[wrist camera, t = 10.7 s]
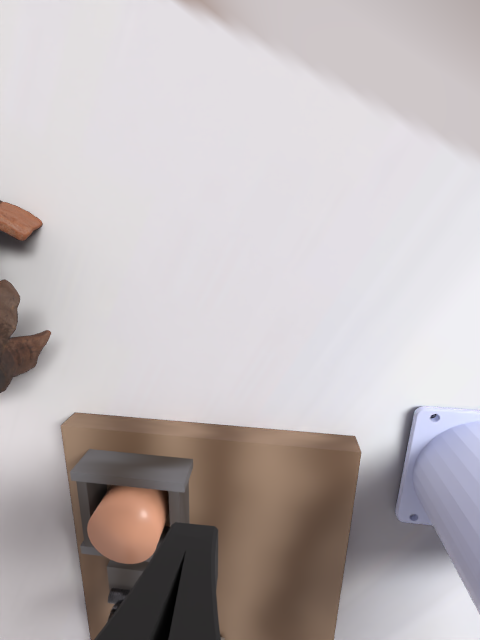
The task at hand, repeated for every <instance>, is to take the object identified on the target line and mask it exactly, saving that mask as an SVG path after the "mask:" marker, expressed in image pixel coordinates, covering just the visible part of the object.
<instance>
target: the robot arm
mask: <svg viewBox="0 0 480 640" xmlns="http://www.w3.org/2000/svg"><path fill="white" fill-rule="evenodd" d="M433 414H437V415H436V417H434V418H430V417H431V415H433ZM395 514H396V516H397V518H398V520H399V521H401V522H405V523H414V524H424V525H433V527H434V529H435V531H436V533H437V534H438V536H439V538H440V540H441V542H442V544H443V546H444V548H445V550H446V551H447V553H448V555H449V557H450V559H451V561H452V563H453V565H454V567H455V569H456V570H457V572H458V574H459V576H460V578H461V580H462V582H463V584H464V586H465V587H466V589H467V591H468V593H469V595H470V597H471V599H472V601H473V603H474V605H475V606H476V608H477V610H478V612H479V614H480V410H468V409H454V408H441V407H428V406H422V407H419V408H417V409H416V410H415V412H414V416H413V421H412V426H411V431H410V437H409V442H408V447H407V452H406V457H405V463H404V468H403V473H402V478H401V484H400V489H399V494H398V499H397V504H396V510H395ZM412 514H415V515H412ZM410 515H412V516H410ZM217 579H218V529H217V528H216V527H215V526H209V525H199V524H189V523H179V522H175V523H173V524H172V525H171V527H170V529H169V531H168V532H167V534H166V536H165V538H164V539H163V541H162V543H161V544H160V546H159V548H158V549H157V551H156V553H155V554H154V556H153V557H152V559H151V560H150V562H149V564H148V565H147V567H146V568H145V570H144V571H143V573H142V574H141V576H140V577H139V579H138V580H137V581H136V583H135V584H134V586H133V587H132V589H131V590H130V592H129V593H128V595H127V596H126V598H125V599H124V600H123V602H122V603H121V604H120V606H119V607H118V608H117V610H116V611H115V612H114V614H113V615H112V617H111V618H110V619H109V621H108V622H107V623H106V625H105V626H104V627H103V629H102V630H101V631H100V633H99V634H98V635H97V636H96V638H95V639H94V640H221V638H220V629H219V620H218V609H217V596H216V589H217Z"/></svg>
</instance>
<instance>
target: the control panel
mask: <svg viewBox="0 0 480 640" xmlns="http://www.w3.org/2000/svg"><path fill="white" fill-rule="evenodd" d="M61 432H62V439H63V446H64V453H65V460H66V467H67V474H68V481H69V488H70V496H71V503H72V510H73V517H74V524H75V531H76V538H77V545H78V552H79V559H80V566H81V574H82V581H83V588H84V595H85V602H86V609H87V616H88V623H89V630H90V637H91V640H94V639H95V638H96V636H97V635H98V634H99V633H100V631H101V630H102V629H103V627H104V626H105V625H106V623H107V620H108V617H109V615H110V612H111V609H112V607H113V606H114V604H110V603H108V596H109V593H110V590H111V589H112V588H120V589H128V590H131V589H132V587H133V586H134V584H135V583H136V581H137V580H138V579H139V577H140V576H141V574H142V573H143V571H144V570H145V568H146V567H147V565H148V564H149V562H150V560H151V559H152V557H153V556H154V554H155V553H156V551H157V549H158V548H159V546H160V544H161V543H162V541H163V539H164V538H165V536H166V534H167V532H168V531H169V529H170V527H171V525H172V524H173V523H175V522H179V523H189V524H199V525H209V526H215V527H216V528H217V529H218V579H217V589H216V596H217V609H218V620H219V629H220V637H224V638H225V640H334V634H335V627H336V620H337V614H338V607H339V600H340V593H341V587H342V580H343V573H344V566H345V559H346V553H347V546H348V539H349V532H350V526H351V519H352V512H353V505H354V499H355V492H356V485H357V478H358V471H359V465H360V458H361V450H360V448H359V445H358V442H357V440H356V437H355V436H346V435H334V434H322V433H310V432H299V431H287V430H275V429H263V428H251V427H239V426H228V425H216V424H204V423H192V422H180V421H168V420H157V419H145V418H133V417H121V416H109V415H97V414H86V413H74V414H73V415H72V416H71V417H70V418H69V419H67V420H66V421H65V422H64V423H63V424H62V425H61ZM111 485H117V486H127V487H136V488H146V489H155V490H165V491H167V492H168V493H169V515H168V518H167V520H166V523H165V526H164V528H163V531H162V534H161V536H160V539H159V542H158V544H157V547H156V549H155V552H154V553H153V555H152V556H151V557H150V558H148V559H147V560H145V561H143V562H140V563H136V564H124V563H119V562H115V561H113V560H110V559H108V558H107V557H105V556H103V555H102V554H101V553H100V552H98V551H97V550H96V548H95V547H94V546H93V545H92V543H91V541H90V539H89V537H88V532H87V526H88V522H89V520H90V518H91V516H92V515H93V513H94V511H95V510H96V508H97V507H98V505H99V504H100V502H101V501H102V499H103V497H104V496H105V494H106V493H107V491H108V490H109V488H110V487H111Z"/></svg>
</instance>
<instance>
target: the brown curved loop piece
mask: <svg viewBox="0 0 480 640" xmlns="http://www.w3.org/2000/svg"><path fill="white" fill-rule="evenodd" d="M41 226H42V222H41V220H40V219H38V218H37V217H35V216H34V215H32V214H31V213H30V212H28V211H26V210H23V209H21V208H20V207H17V206H15V205H12V204H9V203H6V202H2V201H0V231H3V232H5V233H7V234H9V235H11V236H12V237H14V238H16V239H18V240H20V241H24V240H26V239H27V238H28V237H29V236H30V235H31V234H32V232H33V231H34V230H36V229H38V228H40V227H41ZM19 303H20V296H19V294H18V292H17V291H16V289H15V288H14V287H13V285H12V284H11V283H10V282H8V281H7V280H1V281H0V393H1V392H3V391H5V390H6V388H7V387H8V385H9V384H10V382H11V380H12V378H13V377H15V376H18V375H20V374H23V373H25V372H27V371H29V370H30V369H32V368H34V367H35V365H36V364H37V359H38V356H39V354H40V352H41V351H42V348H43V347H44V346H45V345H46V343H47V341H48V339H49V337H50V335H51V332H50V331H48V330H46V331H43V332H41V333H39V334H35V335H31V336H21V337H12V338H9V337H10V336H11V335H12V333H13V332H14V331H15V330H16V326H17V322H18V314H17V307H18V305H19Z"/></svg>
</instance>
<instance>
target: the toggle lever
mask: <svg viewBox="0 0 480 640" xmlns="http://www.w3.org/2000/svg"><path fill="white" fill-rule="evenodd" d="M129 592H130V590H128V589H120V588H112V589H111V590H110V593H109V596H108V603H110V604H114V606H113V607H112V609H111V612H110V615H109V617H108V620H107V622H108V621H109V619H110V618H111V617H112V615H113V614H114V612H115V611H116V610H117V608H118V607H119V606H120V604H121V603H122V602H123V600H124V599H125V598H126V596H127V595H128V593H129Z"/></svg>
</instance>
